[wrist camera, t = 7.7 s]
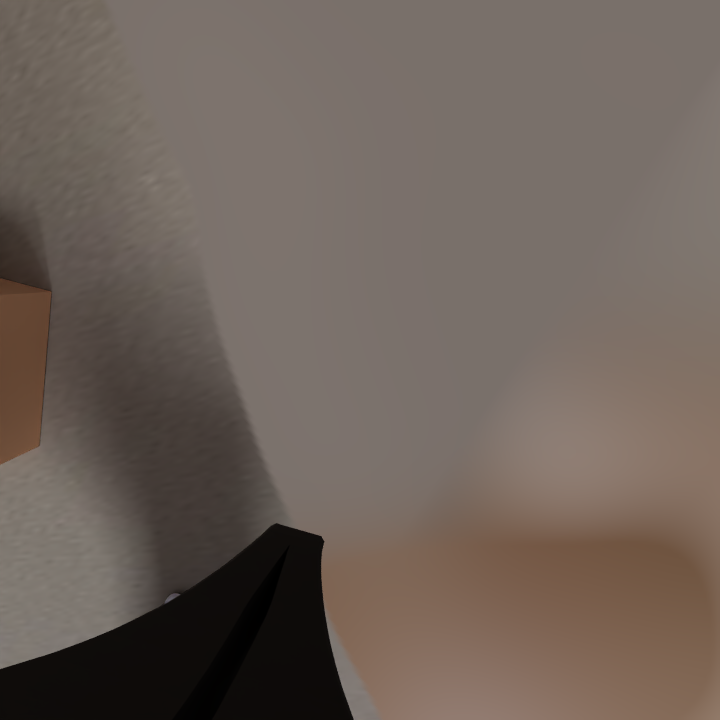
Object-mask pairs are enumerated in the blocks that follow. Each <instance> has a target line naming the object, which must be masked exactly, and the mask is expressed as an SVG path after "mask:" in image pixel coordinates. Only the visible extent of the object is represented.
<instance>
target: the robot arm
mask: <svg viewBox="0 0 720 720" xmlns="http://www.w3.org/2000/svg"><path fill="white" fill-rule="evenodd" d="M323 545H324V540H323V539H322V537H321V536H319V535H315V534H312V533H308V532H305V531H301V530H298V529H294V528H291V527H287V526H284V525H280V524H277V523H276V524H274V525H272V526H270V527H269V528H268V529H267V530H266V531H265V532H264V533H263V534H262V535H261V536H260V537H258V538H257V539H256V540H255V541H254V542H253V543H252V544H250V545H249V546H248V547H247V548H246V549H244V550H243V551H242V552H241V553H239V554H238V555H237V556H235V557H234V558H233V559H232V560H230V561H229V562H228V563H226V564H225V565H224V566H222V567H221V568H220V569H218V570H217V571H215V572H214V573H212V574H211V575H210V576H208V577H207V578H205V579H204V580H202V581H201V582H199V583H198V584H196V585H195V586H193V587H192V588H190V589H189V590H187V591H185V592H184V593H182V594H178V593H173V594H171V595H169V596H168V598H167V599H166V601H165V603H164V604H163V605H162V606H160V607H158V608H156V609H154V610H152V611H150V612H148V613H146V614H144V615H142V616H140V617H138V618H136V619H134V620H132V621H130V622H128V623H126V624H124V625H122V626H120V627H118V628H116V629H113V630H111V631H109V632H106V633H104V634H101V635H99V636H97V637H94V638H92V639H89V640H87V641H84V642H81V643H79V644H76V645H73V646H71V647H68V648H65V649H62V650H60V651H57V652H54V653H51V654H48V655H45V656H42V657H38V658H35V659H32V660H29V661H25V662H22V663H19V664H16V665H12V666H9V667H6V668H3V669H0V720H354V719H353V716H352V714H351V711H350V708H349V705H348V702H347V700H346V697H345V694H344V691H343V688H342V685H341V682H340V678H339V675H338V671H337V668H336V664H335V660H334V656H333V652H332V648H331V644H330V639H329V634H328V629H327V623H326V617H325V611H324V603H323V593H322V581H321V556H322V549H323Z"/></svg>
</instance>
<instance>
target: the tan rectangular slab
mask: <svg viewBox="0 0 720 720" xmlns="http://www.w3.org/2000/svg"><path fill="white" fill-rule="evenodd" d="M50 304H51V291H47V290H43V289H40V288H36V287H32V286H28V285H25V284H21V283H17V282H13V281H9V280H6V279H2V278H0V464H2V463H5V462H7V461H9V460H11V459H13V458H15V457H17V456H19V455H21V454H23V453H26V452H28V451H30V450H32V449H34V448H36V447H38V446H39V443H40V431H41V418H42V405H43V393H44V380H45V367H46V355H47V342H48V329H49V317H50Z"/></svg>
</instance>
